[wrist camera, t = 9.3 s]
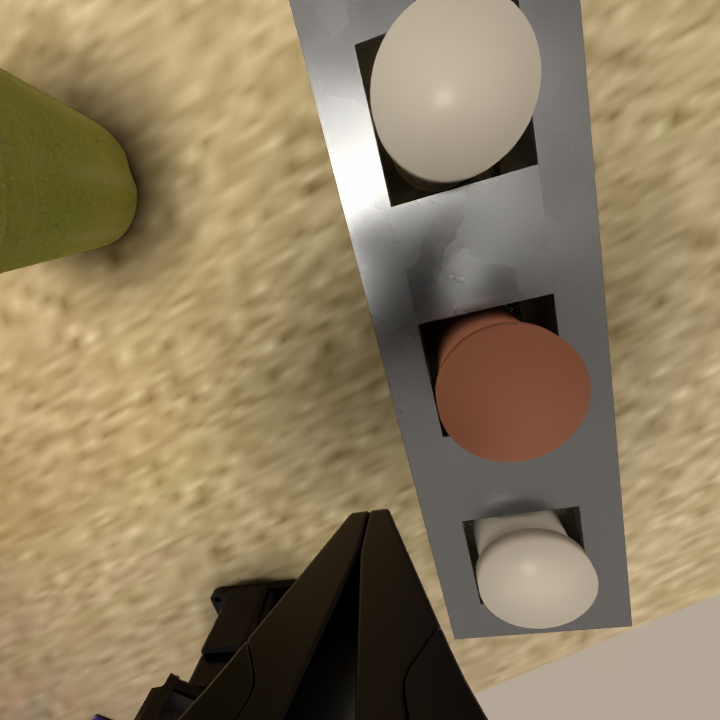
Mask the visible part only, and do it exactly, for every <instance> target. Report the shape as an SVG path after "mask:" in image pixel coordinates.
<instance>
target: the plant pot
mask: <svg viewBox="0 0 720 720" xmlns="http://www.w3.org/2000/svg"><path fill="white" fill-rule="evenodd" d="M136 207H137V187H136V185H135V182H134V180H133V177H132V175H131V171H130V168H129V165H128V161H127V157H126V153H125V152H124V150H123V148H122V147H121V145H120V144H119V143H118V141H117V140H116V139H115V138H114V137H113V136H112V135H111V134H110V133H109V132H108V131H107V130H106V129H105V128H104V127H103V126H101V125H100V124H99V123H97V122H96V121H94V120H92V119H90V118H89V117H87V116H85V115H83V114H81V113H80V112H78V111H76V110H74V109H73V108H71V107H69V106H67V105H65V104H64V103H62V102H60V101H58V100H56V99H54V98H53V97H51V96H49V95H47V94H45V93H44V92H42V91H40V90H38V89H37V88H35V87H33V86H31V85H29V84H28V83H26V82H24V81H22V80H21V79H19V78H17V77H15V76H14V75H12V74H10V73H8V72H7V71H5V70H3V69H1V68H0V274H1V273H3V272H7V271H11V270H15V269H19V268H22V267H26V266H30V265H34V264H37V263H41V262H45V261H49V260H53V259H57V258H60V257H64V256H68V255H73V254H77V253H81V252H85V251H89V250H93V249H97V248H101V247H104V246H107V245H109V244H111V243H113V242H115V241H117V240H118V239H119V238H121V237H122V236H123V235H124V234H125V232H126V231H127V230H128V228H129V227H130V225H131V223H132V221H133V218H134V215H135V212H136Z"/></svg>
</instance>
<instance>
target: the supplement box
mask: <svg viewBox="0 0 720 720" xmlns="http://www.w3.org/2000/svg"><path fill="white" fill-rule="evenodd" d="M92 720H107V719H105V718H102V717H99V716H97V715H95V716H94V718H93V719H92Z"/></svg>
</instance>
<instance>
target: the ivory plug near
mask: <svg viewBox="0 0 720 720" xmlns="http://www.w3.org/2000/svg"><path fill="white" fill-rule="evenodd" d="M540 84H541V58H540V52H539V47H538V43H537V40H536V37H535V34H534V32H533V29H532V27H531V25H530V23H529V21H528V20H527V18H526V17H525V15H524V14H523V12H522V11H521V10H520V9H519V8H518V7H517V6H516V5H515V3H513V2H512V1H511V0H416V1H415V2H414V3H412V4H411V5H410V6H409V7H408V8H407V9H405V10H404V11H403V13H402V14H401V15H400V16H399V17H398V18H397V19H396V20H395V22H394V23H393V25H392V26H391V27H390V29H389V30H388V32H387V34H386V36H385V37H384V39H383V41H382V43H381V45H380V48H379V50H378V53H377V55H376V59H375V62H374V66H373V71H372V76H371V87H370V99H371V109H372V115H373V119H374V123H375V126H376V129H377V133H378V135H379V138H380V140H381V142H382V144H383V146H384V148H385V150H386V151H387V153H388V154H389V155H390V157H391V158H392V160H393V163H394V165H395V168H396V169H397V171H398V173H399V174H400V175H401V177H402V178H403V179H404V180H405V181H406V182H407V183H409V184H410V185H412V186H414V187H415V188H418V189H420V190H424V191H432V192H435V191H443V190H446V189H449V188H452V187H454V186H456V185H457V184H459V183H460V182H462V181H463V180H467V179H469V178H472V177H475V176H477V175H479V174H480V173H482V172H484V171H486V170H487V169H489V168H490V167H491V166H493V165H494V164H495V163H497V162H498V161H499V160H500V159H501V158H503V157H504V156H505V155H506V154H507V153H508V152H509V151H510V150H511V149H512V148H513V146H514V145H515V144H516V143H517V141H518V140H519V139H520V137H521V136H522V134H523V133H524V131H525V129H526V127H527V126H528V124H529V122H530V119H531V117H532V115H533V112H534V110H535V107H536V103H537V100H538V96H539V90H540Z"/></svg>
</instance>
